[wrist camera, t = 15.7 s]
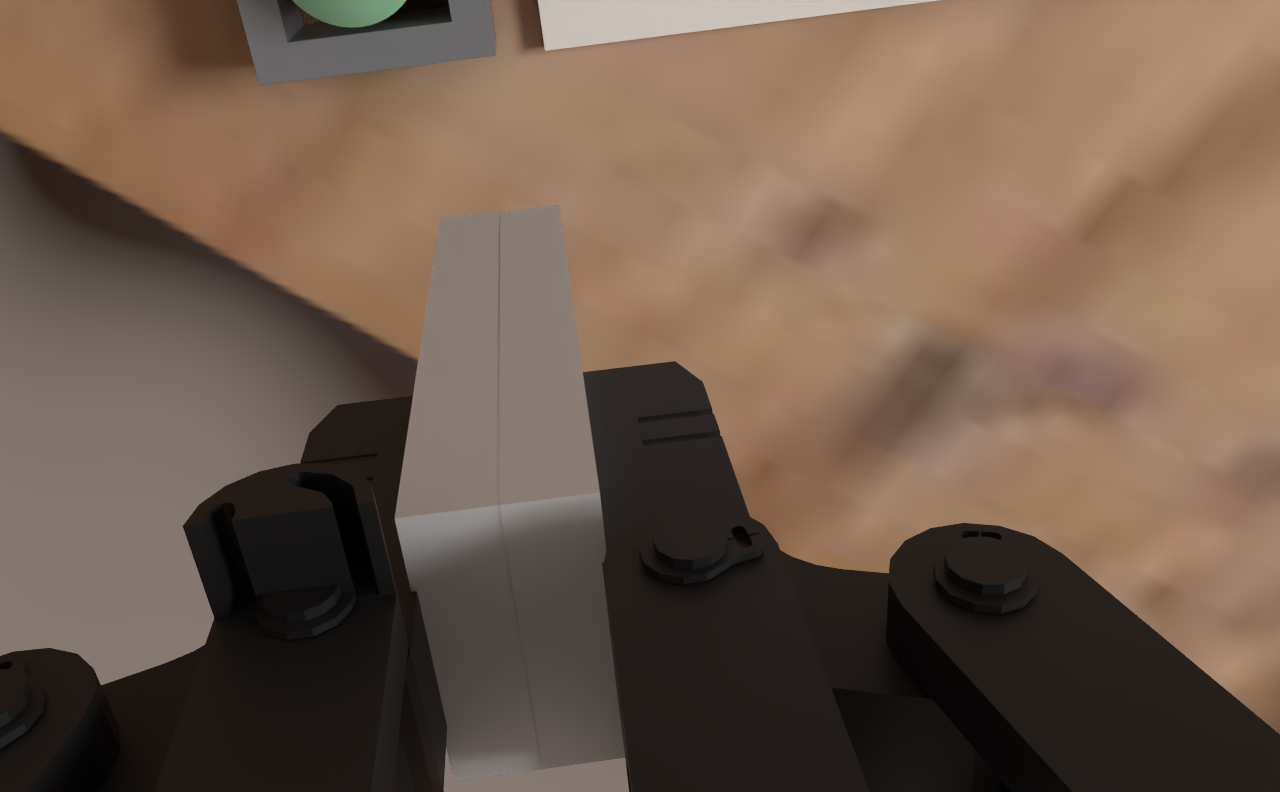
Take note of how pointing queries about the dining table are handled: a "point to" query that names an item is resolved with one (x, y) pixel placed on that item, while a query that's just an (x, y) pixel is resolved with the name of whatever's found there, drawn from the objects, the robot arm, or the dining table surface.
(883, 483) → the dining table surface
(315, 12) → the button
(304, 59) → the button housing
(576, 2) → the sheet
